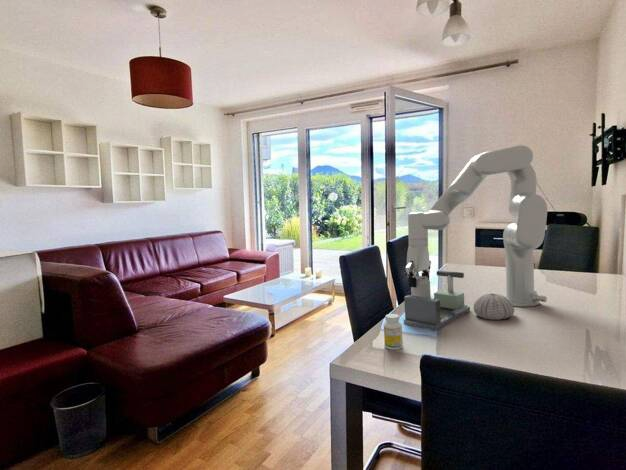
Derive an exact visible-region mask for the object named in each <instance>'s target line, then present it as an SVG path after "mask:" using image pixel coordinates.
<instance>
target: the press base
mask: <svg viewBox="0 0 626 470" xmlns="http://www.w3.org/2000/svg"><path fill="white" fill-rule="evenodd" d="M403 299H404V300H403V302H404V303H403V304H404V316H405V318H404V319H403V325H409V326H413V327H414V326H415V327H416V328H417V327H418V328H423V329H426V330H431V331H437V330H439V329H440V328H442V327H444V326H446V325H447V324H449V323H451V322H452V321H455V320H456V319H458V318H460V317H461V316H464V315H465V314H467V313H469V312H470V311H471V307H470V306H468V304H464V305H463V306H461V307H459V308H457V309H450V308H444V307H440V300H439V299H434V298H433V297H431V298H426V297H420V296H413V295H411V294H408V295H405V296H403Z"/></svg>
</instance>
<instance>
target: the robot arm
mask: <svg viewBox="0 0 626 470" xmlns="http://www.w3.org/2000/svg"><path fill="white" fill-rule="evenodd" d="M533 159H534V154H533V151H532V149H531V148H530V147H529V146H527V145H521V144H519V145H518V144H517V145H514V146H511V147H506V148H501V149H496V150H490V151H485V152H481V153H479V154H477V155H474V156H473V157H471V159H470V160H469V161H468V162H467V164H466V165H465V166H464V168H463V169H462V170H461V171H460V172H459V174H458V176H457V177H456V178H455V179H454V180H453V182H452V183H451V184H450V185H449V186H448V187H447V188H446V190H445V191H444V193H442V195H441V196H440V197H439V198H438V199H437V200H436V201H435V203H434V204H433V205H432V207H431V208H430V209H429V211H428V212H425V211H412V212H409V213H408V216H407V223H408V224H407V226H408V227H407V228H408V229H407V230H408V233H407V234H408V247H407V252H406V266H405V271H406V274H407V278H408V287H409V288H411V287H414V288H415V287H416V277H415V276H417V274H418V273H420V272H421V276H426V277H428V280H429V281H430V273H431V265H432V261H431V260H430V252H429V230H434V231H441V230H445V229H446V228H448V226H449V224H450V217H449V216H450V214H452V212H453V211H454V210H455V208H457V207H458V206H459V205H460V204H462V203H464V202H466V201H467V200H468V199H469V198H470V197H471V196H472V195H473V194H474V192H475V191H476V190H477V189H478V187H479V186H480V185H481V183H482V182H483V181H484V180H485V178H487V176H491V175H497V174H498V175H499V174H503V173H507V175H508V176H509V178H510V179H509V180H510V192H509V202H508V212H509V214H510V215H511V216H512V217H514V218H515V219H517V221H515V222H512V223H509V224H508V225H507V226H506V227H505V228H504V230H503V233H502V234H503V235H502V239H503V246H504V252H505V253H504V255H505V279H506V280H505V281H506V282H505V283H506V285H505V286H506V288H505V289H506V296H505V297H506V298H507V299H508V300H509V301H510V302H511V303H512V304H513V307H523V308H524V307H525V308H527V307H529V308H530V307H535V306H539V304H540V302H543V303H546V302H547V301H548V297H547V296H546V295H540V294H538V291H536V290H535V272H534V271H535V269H534V264H535V263H534V261H535V260H534V251H533V250H536V249H538V248H539V247H540V246H541V245H542V244H543V242H544V239H545V235H546V228H547V226H546V225H547V220H548V218H547V217H548V205H547V202H546V200H545V198H544V197H543V196H541V195H539V194H537V174H536V171H535V169H534V167H533V165H532V164H531V163H532V162H533Z"/></svg>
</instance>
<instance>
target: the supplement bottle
mask: <svg viewBox="0 0 626 470" xmlns="http://www.w3.org/2000/svg"><path fill="white" fill-rule="evenodd" d="M383 337H384V347H385V348H386V349H388V350H390V351H391V350H392V351H396V350H397V351H398V350H401V349H402V348H403V346H404V342H403V341H404V340H403V324H402V322H401V321H400V315H399V314H396V313H388V314H386V315H385V322H384V324H383Z"/></svg>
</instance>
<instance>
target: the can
mask: <svg viewBox="0 0 626 470" xmlns="http://www.w3.org/2000/svg"><path fill="white" fill-rule="evenodd" d="M415 277H416V287H415V288H414V287H410V295H413V296H420V297H426V298H432V297H431V295H432V294H431V293H432V292H431V281H430V279H429V280H428V277H426V276H422V275H416V276H415Z"/></svg>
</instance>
